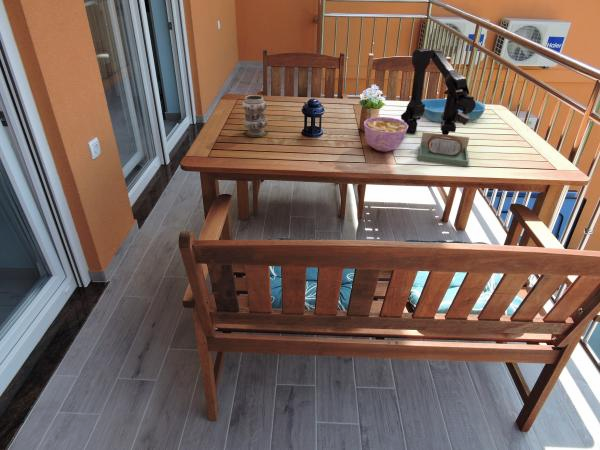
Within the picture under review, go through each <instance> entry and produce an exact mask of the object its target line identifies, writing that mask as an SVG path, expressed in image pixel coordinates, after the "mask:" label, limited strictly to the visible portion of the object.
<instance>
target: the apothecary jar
mask: <svg viewBox="0 0 600 450" xmlns="http://www.w3.org/2000/svg"><path fill="white" fill-rule="evenodd" d="M267 106H268V105H267V102H266V101H265V100H264V97H263V96H262V95H258V94H250V95H246V96H245V98H244V101H243V102H242V104H241V107H242V109H243V110H244V119H243V120H242V125H243V126H244V127H245V128H246V129H248V130H246V132H245V135H246V136H248V137H252V138H259V137H263V136H265V135H266V134H267V132H266V131H265V130H264V128H265V127H266V126H268V123H269V122H268V119H267V118H266V115H265V113H266V112H265V110H266V109H267Z"/></svg>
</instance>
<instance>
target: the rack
mask: <svg viewBox="0 0 600 450" xmlns="http://www.w3.org/2000/svg"><path fill="white" fill-rule="evenodd" d="M434 135H443V136H451V137H457V138H459V139H460V140H461V141H462V150H461V152H460V153H459V154H457V155H455V156H448V155H441V154H434V153H432V152H430V151H429V149H428V145H427V143H428V140H429V138H430V137H432V136H434ZM469 142H470V137H469V136H464V135H463V136H462V135H455V134H448V135H446V134H442V133H436V132H429V131H427V132H425V131H422V134H421V140H420V145H419V152H418V160H417V161H418V162H424V163H425V162H426V163H434V164H442V165H448V166H457V167H465V168H467V167H468V165H469V153H468V145H469Z"/></svg>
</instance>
